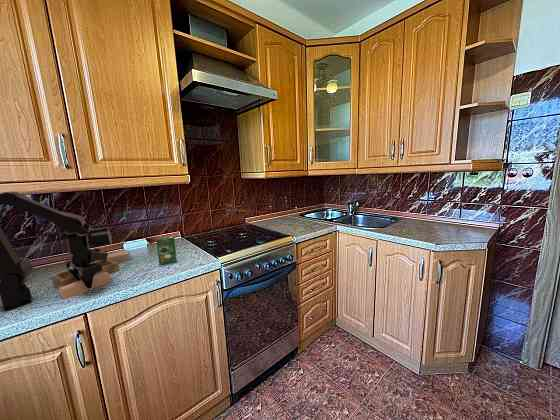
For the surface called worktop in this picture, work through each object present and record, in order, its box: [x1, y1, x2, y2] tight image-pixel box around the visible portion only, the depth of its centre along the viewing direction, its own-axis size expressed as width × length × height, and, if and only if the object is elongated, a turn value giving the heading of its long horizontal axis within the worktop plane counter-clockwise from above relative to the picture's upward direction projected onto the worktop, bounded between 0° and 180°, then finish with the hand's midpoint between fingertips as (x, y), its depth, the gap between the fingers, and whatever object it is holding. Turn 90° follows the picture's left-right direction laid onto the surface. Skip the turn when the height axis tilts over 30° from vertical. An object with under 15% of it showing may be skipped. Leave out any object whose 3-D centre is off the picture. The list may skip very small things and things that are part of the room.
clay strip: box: [58, 272, 112, 300], centre depth 91 cm, size 15×4×4 cm, turn 149°
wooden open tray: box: [50, 259, 120, 289], centre depth 102 cm, size 20×11×4 cm, turn 149°
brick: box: [93, 249, 131, 264], centre depth 119 cm, size 17×8×5 cm, turn 126°
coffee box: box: [155, 235, 178, 266], centre depth 113 cm, size 8×3×13 cm, turn 108°
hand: (86, 286), depth 91 cm, fingers open, 5 cm apart
